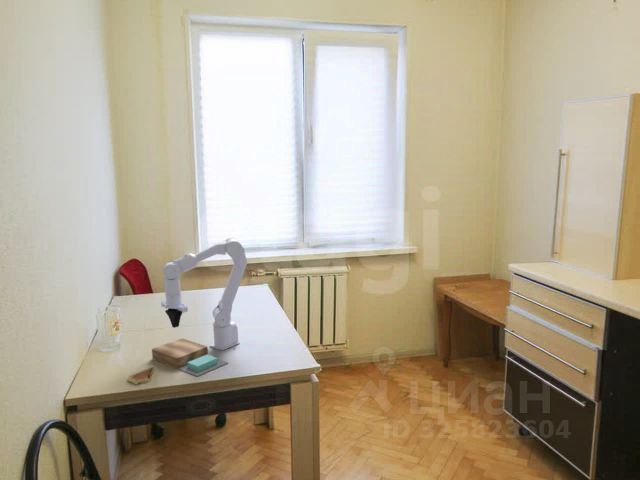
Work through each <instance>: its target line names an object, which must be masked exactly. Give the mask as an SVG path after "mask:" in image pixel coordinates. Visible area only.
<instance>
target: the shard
mask: <svg viewBox="0 0 640 480" xmlns="http://www.w3.org/2000/svg"><path fill="white" fill-rule="evenodd" d="M153 369H154V366H152V367H149V368H147V369H144V370H142V371H140V372H136V373H134V374H131V375H130V376H128V377H127V378H126V380H127V381H128V382H131V383H132V384H135V385H138V384H141V383H146V382H150V381H151V377H152V375H153V373H154V370H153Z"/></svg>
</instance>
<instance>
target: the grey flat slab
mask: <svg viewBox="0 0 640 480" xmlns="http://www.w3.org/2000/svg"><path fill="white" fill-rule="evenodd" d="M227 364H229V362H227V361H225V360H222V359H219V358H218V363H217V364H215V365H212V366H210V367H208V368H205V369H203V370H201V371H195V370H193V369H190V368H188V364H187V365H185V366H183V367H180V368H178V369H177V370H180V371H182V372H185V373H187V374H189V375H192V376H194V377H198V378H199V377H200V376H202V375H205V374H207V373H210V372H212V371H214V370H216V369H218V368H219V369H220V367H223V366H225V365H227Z"/></svg>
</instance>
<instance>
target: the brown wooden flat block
mask: <svg viewBox="0 0 640 480" xmlns="http://www.w3.org/2000/svg"><path fill="white" fill-rule="evenodd" d="M208 348H209V347H208V346H206V345H203V344H201V343H198V342H195V341H192V340H188V339H186V338H183V337H182V338H178V339H177V340H173V341H170V342H168V343H165V344H162V345H159V346H157V347H153V348H151V354H152V355H151V357H152V360H154V361H157V362H160V363H162V364H164V365H166V366H170V367H172V368H174V369H177V370H179V369H178V368H180V367H183V366H185V365H187V364H188V363H187V362H190V361H192V360H195V359H197V358H200V357H202V356H205V355H209V349H208Z"/></svg>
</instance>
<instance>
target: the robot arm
mask: <svg viewBox="0 0 640 480" xmlns="http://www.w3.org/2000/svg"><path fill="white" fill-rule="evenodd" d="M226 253H227V255H228V256H229V257H230V259H231V260H232V262H233V266H232V267H231V268H232V269H231V271H230V274H229V277H228V279H227V282H226V285H225V288H224V290H223V293H222V296H221V299H220V300H219V301H218V304H217V306H216V307H214V309H213V311H212V316H213V319H214V322H213V323H212V329H213V343H211V344H209V346H210V347H211V348H215V349H217V350H220V351H224V350H226V349H229V348H231V347H234V346H236V345H238V344H240V341H239V331H238V330H239V329H238V326H237V324H236V323H235V321H232V320H231V319H232V317H231V314H232V310H233V303H234V301H235V299H236V295H237V293H238V290H239V287H240V285H241V281H242V279H243V277H244V273H245V270H246V268H247V265H248V261H247V257H246V252H245V248H244V247H243V245H242V243H240V241H238V240H237V238H234V237H229V238H226V239H224V240H221V241H218V242H217V243H215V244H213V245H211V246H209V247H207V248H205V249H203V250H201V251H199V252H198V253H195V254H193V253H184V254H183V256H182V257H180V258H177V259H173V260H172V262H167V263H166V264H164V266H163V270H162V271H163V276H164V279H163V280H164V291H165V293H164V295H165V300H164V301H160V304H161V305H160V306H161V307H162V308H164V309H166V310H165V313H166V315H167V317H168V318H169V321H170V324H171V327H172V328H178V327H179V326H180V323H181V318H182V317H181V316H182V315H183V313H187V312H188V311H189V310H188V306H186V305H184V303H182V295H181V294H182V293H181V281H180V277H179V276H180V274H184V273H186V272H188V271H190V270H192V269H194V268H196V267H198V264H199V263H200V262H203V261H204V260H206V259H209V258H212V257H213V256H216V255H222V256H226Z"/></svg>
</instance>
